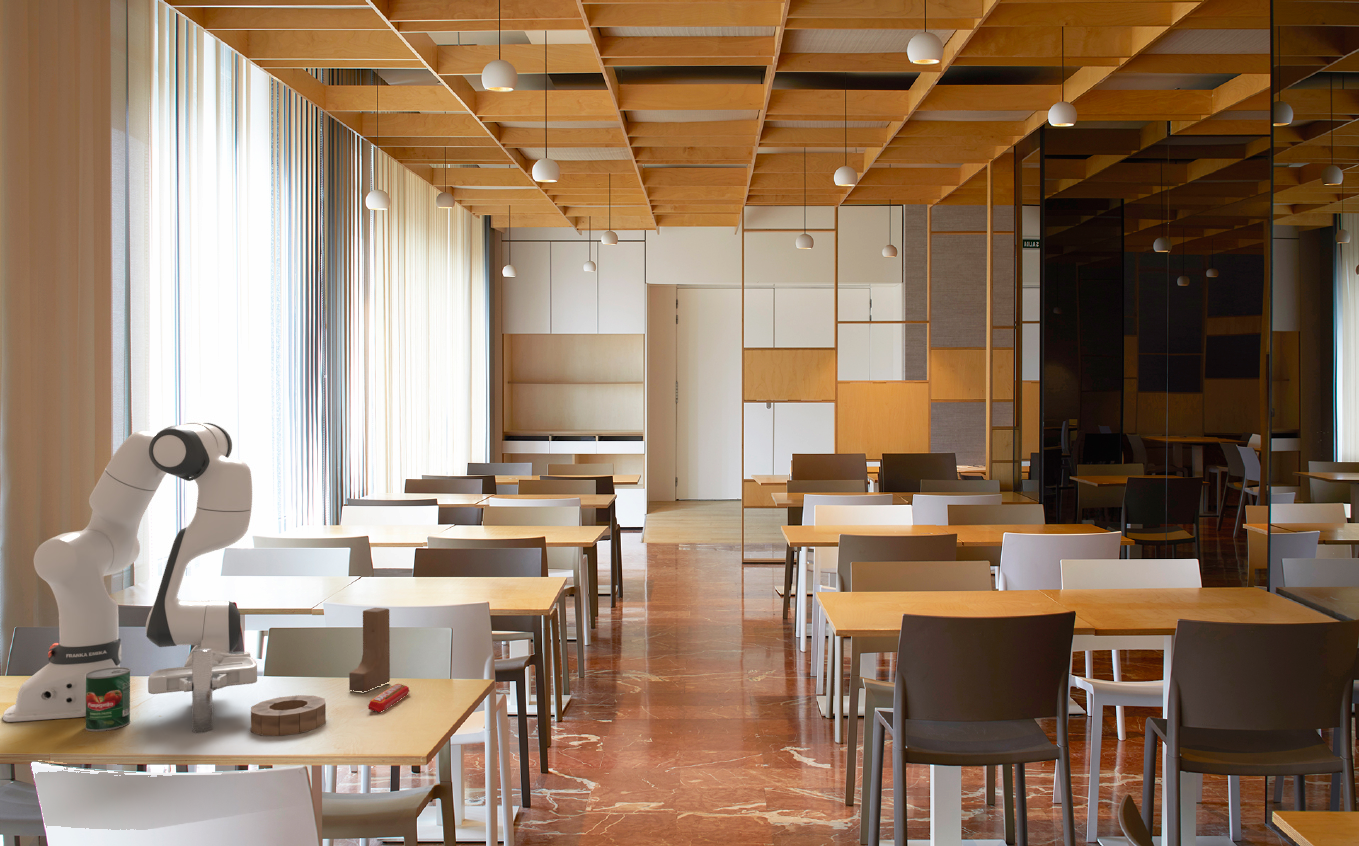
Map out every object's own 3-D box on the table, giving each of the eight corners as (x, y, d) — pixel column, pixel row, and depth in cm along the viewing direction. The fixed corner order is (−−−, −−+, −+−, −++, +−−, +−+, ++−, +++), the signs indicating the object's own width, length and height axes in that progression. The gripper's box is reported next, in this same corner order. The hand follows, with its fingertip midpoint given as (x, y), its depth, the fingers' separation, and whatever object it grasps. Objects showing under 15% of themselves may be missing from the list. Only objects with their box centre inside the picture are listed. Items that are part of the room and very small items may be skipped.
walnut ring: (250, 739, 180) (250, 719, 180) (251, 719, 193) (251, 700, 193) (327, 729, 186) (327, 709, 186) (323, 710, 198) (323, 692, 198)
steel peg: (191, 733, 184) (191, 653, 184) (193, 728, 187) (192, 649, 187) (211, 731, 185) (211, 651, 186) (212, 726, 189) (212, 647, 189)
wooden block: (363, 693, 212) (363, 615, 212) (348, 691, 213) (348, 613, 214) (390, 683, 220) (390, 608, 220) (375, 682, 222) (375, 607, 222)
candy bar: (381, 715, 196) (381, 701, 196) (365, 715, 196) (365, 701, 196) (412, 694, 212) (412, 681, 212) (396, 694, 212) (396, 681, 212)
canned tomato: (86, 734, 184) (86, 679, 185) (84, 724, 191) (83, 671, 191) (132, 726, 189) (132, 672, 189) (128, 717, 195) (128, 665, 196)
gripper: (150, 661, 194) (142, 676, 181) (257, 650, 202) (256, 664, 190) (150, 691, 194) (142, 708, 181) (257, 679, 202) (256, 695, 190)
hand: (202, 686), depth 186 cm, fingers closed on steel peg, 4 cm apart
